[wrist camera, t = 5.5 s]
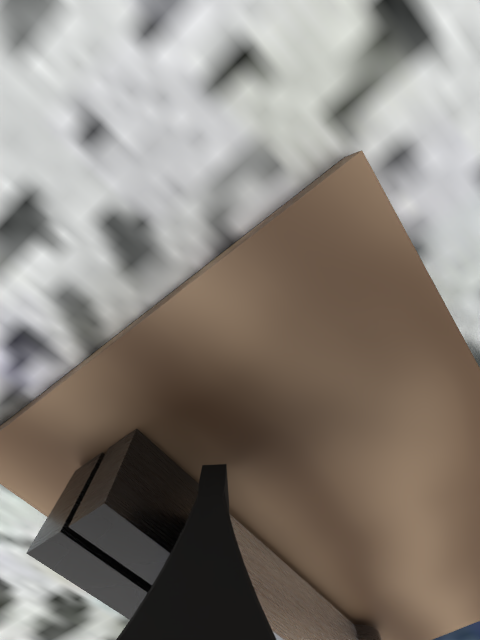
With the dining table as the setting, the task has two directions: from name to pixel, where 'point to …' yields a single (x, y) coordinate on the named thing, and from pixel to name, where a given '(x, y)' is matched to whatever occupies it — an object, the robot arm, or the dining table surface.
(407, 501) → the walnut board
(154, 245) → the dining table surface
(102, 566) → the fixed tong arm
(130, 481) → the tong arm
